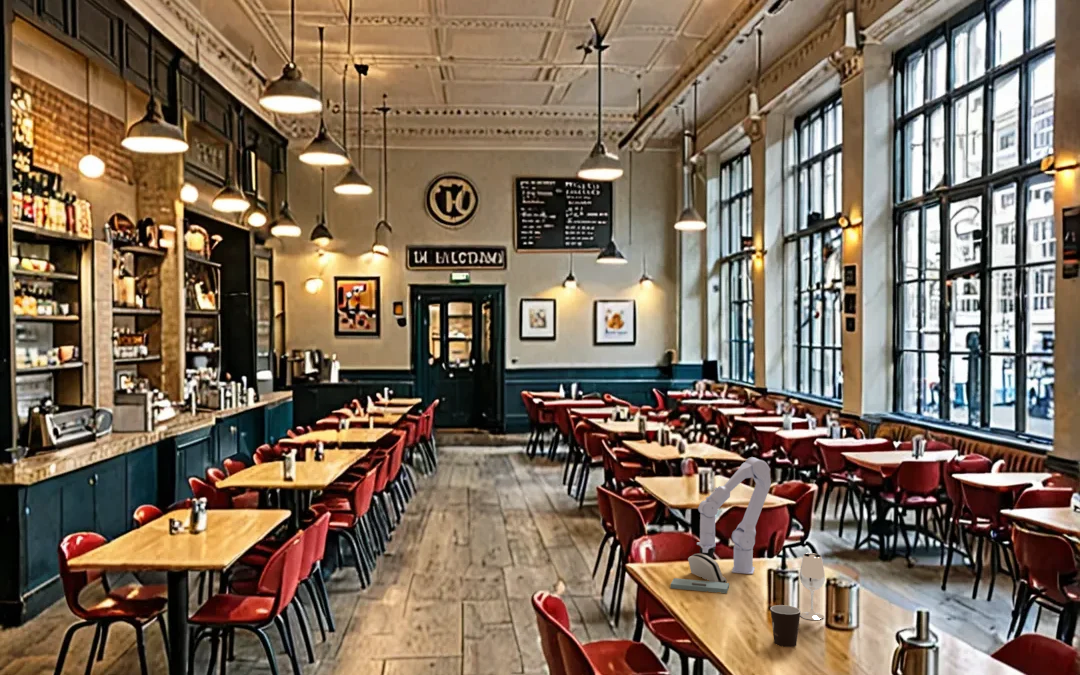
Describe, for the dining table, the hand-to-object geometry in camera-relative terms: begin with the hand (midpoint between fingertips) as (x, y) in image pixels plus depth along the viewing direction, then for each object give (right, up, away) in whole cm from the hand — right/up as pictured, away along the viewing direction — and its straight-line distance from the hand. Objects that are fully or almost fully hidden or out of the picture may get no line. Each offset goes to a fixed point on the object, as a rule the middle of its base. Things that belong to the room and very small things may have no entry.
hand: (707, 567), depth 336 cm
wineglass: (+24, -2, -53) cm, 58 cm away
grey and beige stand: (-2, -2, -8) cm, 9 cm away
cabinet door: (-7, -2, -21) cm, 22 cm away
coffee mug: (+9, -2, -76) cm, 77 cm away
